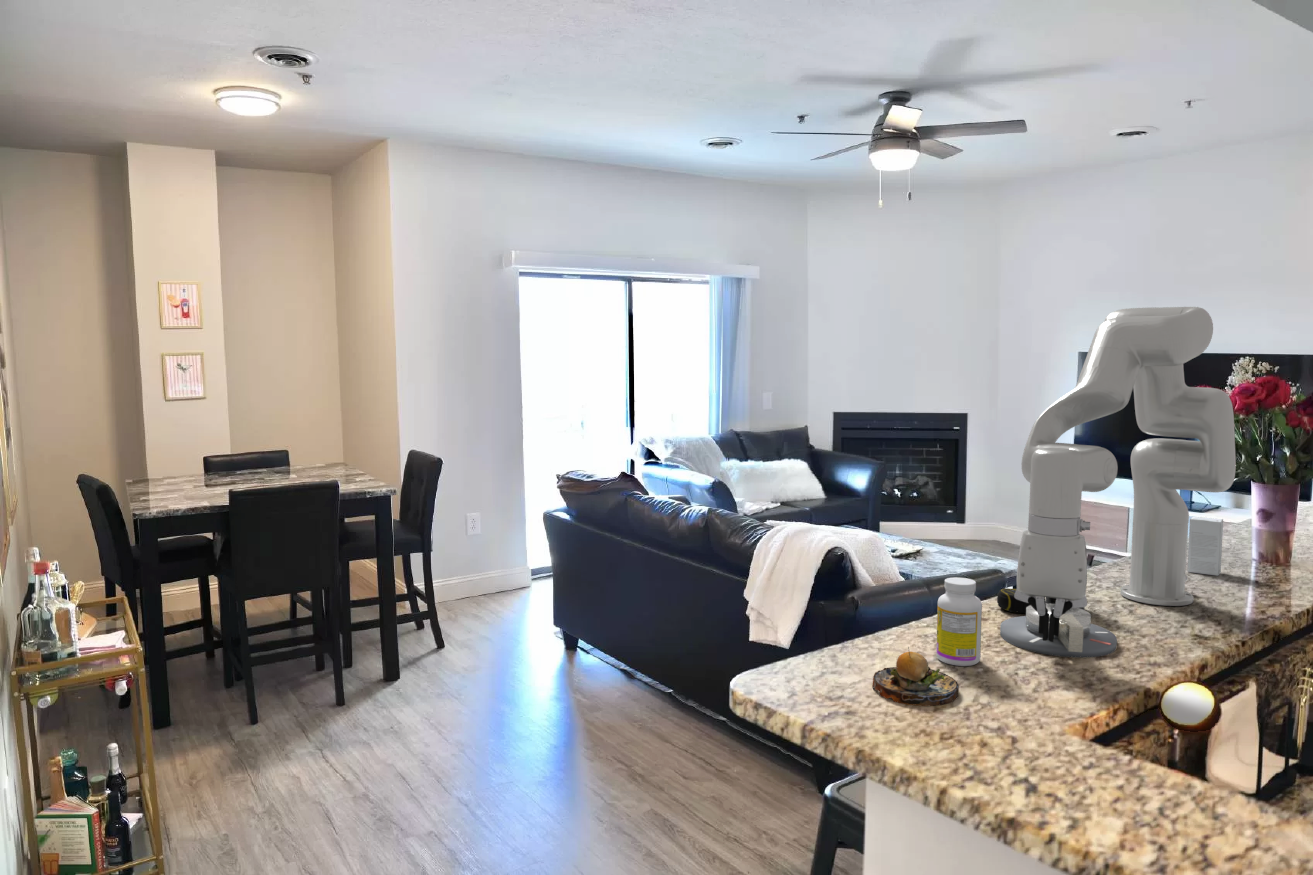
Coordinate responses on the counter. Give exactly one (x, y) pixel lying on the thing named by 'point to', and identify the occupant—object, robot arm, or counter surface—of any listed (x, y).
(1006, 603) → the tape measure
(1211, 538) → the skincare box
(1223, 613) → the counter surface
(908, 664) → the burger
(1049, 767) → the counter surface
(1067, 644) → the dial
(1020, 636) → the base plate
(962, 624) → the supplement bottle
